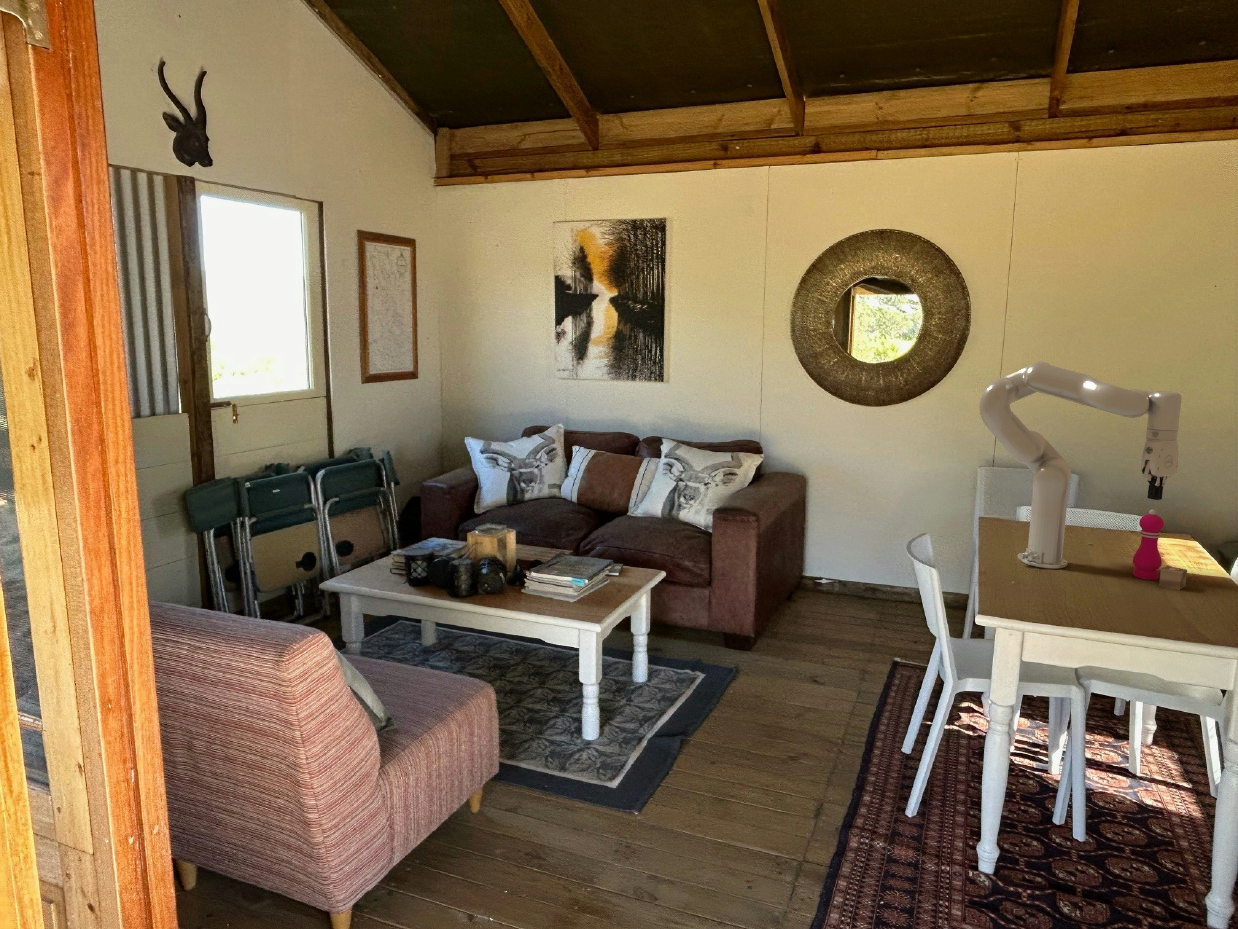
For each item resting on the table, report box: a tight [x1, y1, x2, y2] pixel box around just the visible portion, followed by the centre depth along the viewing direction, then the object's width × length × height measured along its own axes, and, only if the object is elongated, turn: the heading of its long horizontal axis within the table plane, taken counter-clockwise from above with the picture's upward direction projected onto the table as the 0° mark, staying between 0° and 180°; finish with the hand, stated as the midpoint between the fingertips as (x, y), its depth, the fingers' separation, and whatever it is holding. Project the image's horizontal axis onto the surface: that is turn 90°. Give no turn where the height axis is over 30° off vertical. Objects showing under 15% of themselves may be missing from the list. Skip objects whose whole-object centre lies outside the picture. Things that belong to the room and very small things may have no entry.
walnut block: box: [1158, 565, 1188, 591], centre depth 243 cm, size 5×5×5 cm
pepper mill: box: [1132, 509, 1165, 581], centre depth 250 cm, size 7×7×20 cm
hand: (1154, 498), depth 248 cm, fingers closed
